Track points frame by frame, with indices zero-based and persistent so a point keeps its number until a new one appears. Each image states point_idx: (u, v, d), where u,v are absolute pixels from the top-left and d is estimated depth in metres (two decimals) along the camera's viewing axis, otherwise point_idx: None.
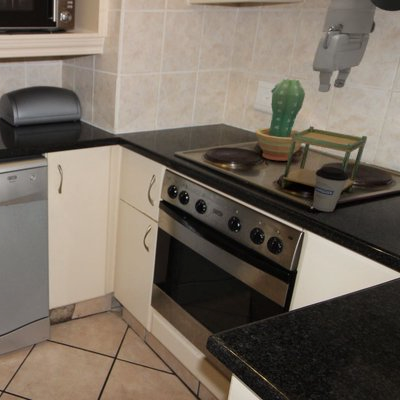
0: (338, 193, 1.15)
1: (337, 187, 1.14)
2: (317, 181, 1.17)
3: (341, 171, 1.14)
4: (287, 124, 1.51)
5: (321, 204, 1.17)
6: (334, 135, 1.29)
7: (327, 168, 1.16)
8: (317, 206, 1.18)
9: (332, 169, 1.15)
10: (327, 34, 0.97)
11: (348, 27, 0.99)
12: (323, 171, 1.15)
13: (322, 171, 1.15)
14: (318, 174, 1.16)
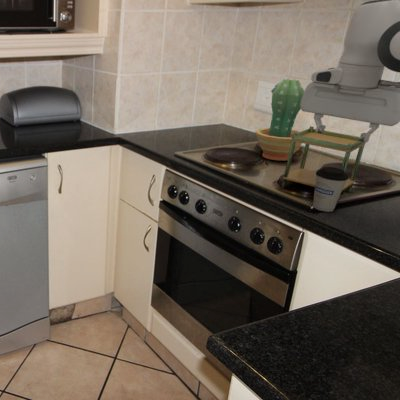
0: (338, 193, 1.15)
1: (337, 187, 1.14)
2: (317, 181, 1.17)
3: (341, 171, 1.14)
4: (287, 124, 1.51)
5: (321, 204, 1.17)
6: (334, 135, 1.29)
7: (327, 168, 1.16)
8: (317, 206, 1.18)
9: (332, 169, 1.15)
10: None
11: None
12: (323, 171, 1.15)
13: (322, 171, 1.15)
14: (318, 174, 1.16)
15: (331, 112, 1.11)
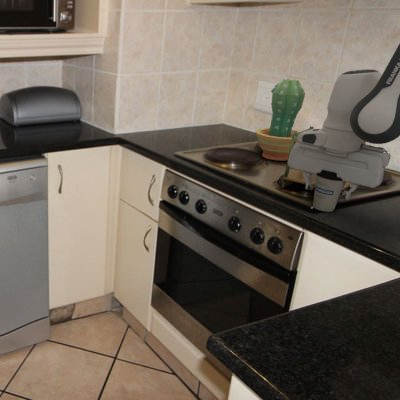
0: (338, 193, 1.15)
1: (337, 188, 1.14)
2: (317, 181, 1.17)
3: None
4: (287, 124, 1.51)
5: (321, 204, 1.17)
6: None
7: None
8: (317, 206, 1.18)
9: None
10: (389, 157, 1.06)
11: None
12: (323, 171, 1.15)
13: (322, 171, 1.15)
14: (318, 174, 1.16)
15: (317, 171, 1.16)
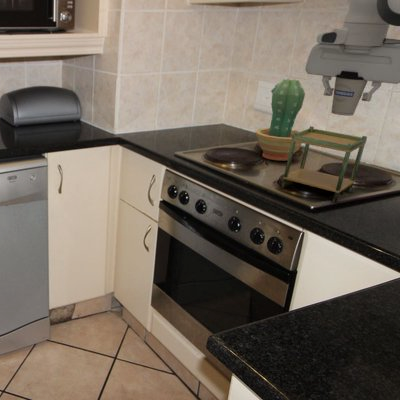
0: (359, 95, 1.11)
1: (358, 88, 1.10)
2: (337, 84, 1.12)
3: None
4: (287, 124, 1.51)
5: (341, 108, 1.13)
6: (334, 135, 1.29)
7: None
8: (336, 111, 1.14)
9: None
10: None
11: None
12: (343, 72, 1.11)
13: (342, 72, 1.11)
14: (338, 76, 1.12)
15: (336, 73, 1.12)
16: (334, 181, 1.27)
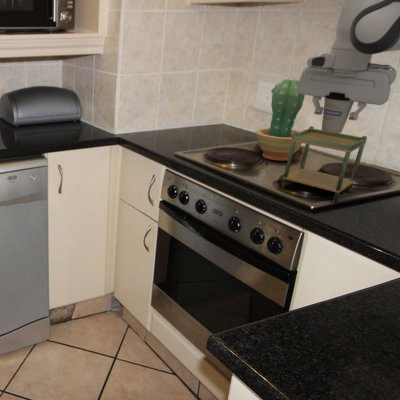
0: (346, 114, 1.20)
1: (345, 108, 1.19)
2: (326, 104, 1.22)
3: None
4: (287, 124, 1.51)
5: (329, 126, 1.22)
6: (334, 135, 1.29)
7: None
8: (326, 128, 1.23)
9: None
10: None
11: None
12: (331, 93, 1.20)
13: (331, 93, 1.20)
14: (327, 96, 1.21)
15: (325, 94, 1.22)
16: (334, 181, 1.27)
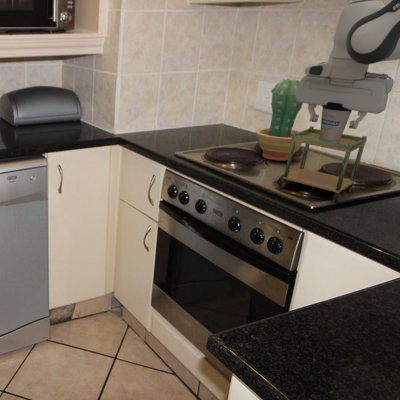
0: (343, 124, 1.21)
1: (343, 118, 1.20)
2: (323, 113, 1.23)
3: None
4: (287, 124, 1.51)
5: (327, 136, 1.23)
6: None
7: None
8: (323, 138, 1.24)
9: None
10: None
11: None
12: (329, 103, 1.21)
13: (328, 103, 1.21)
14: (324, 106, 1.22)
15: (323, 102, 1.22)
16: (334, 181, 1.27)
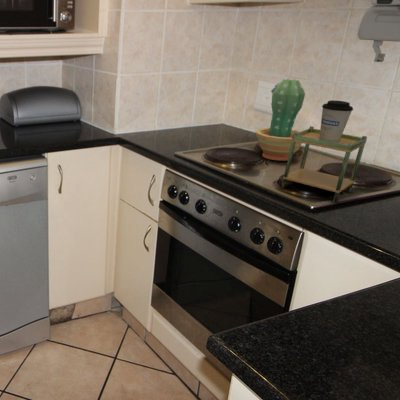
0: (343, 124, 1.21)
1: (343, 118, 1.20)
2: (323, 113, 1.23)
3: (346, 103, 1.20)
4: (287, 124, 1.51)
5: (327, 136, 1.23)
6: None
7: (333, 101, 1.22)
8: (323, 138, 1.24)
9: (338, 102, 1.21)
10: None
11: None
12: (329, 103, 1.21)
13: (328, 103, 1.21)
14: (324, 106, 1.22)
15: (393, 37, 1.05)
16: (334, 181, 1.27)
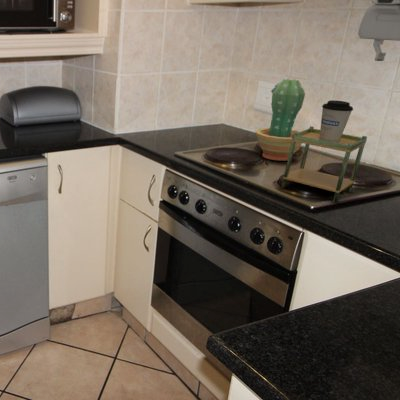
0: (343, 124, 1.21)
1: (343, 118, 1.20)
2: (323, 113, 1.23)
3: (346, 103, 1.20)
4: (287, 124, 1.51)
5: (327, 136, 1.23)
6: None
7: (333, 101, 1.22)
8: (323, 138, 1.24)
9: (338, 102, 1.21)
10: None
11: None
12: (329, 103, 1.21)
13: (328, 103, 1.21)
14: (324, 106, 1.22)
15: (393, 36, 1.05)
16: (334, 181, 1.27)
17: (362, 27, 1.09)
